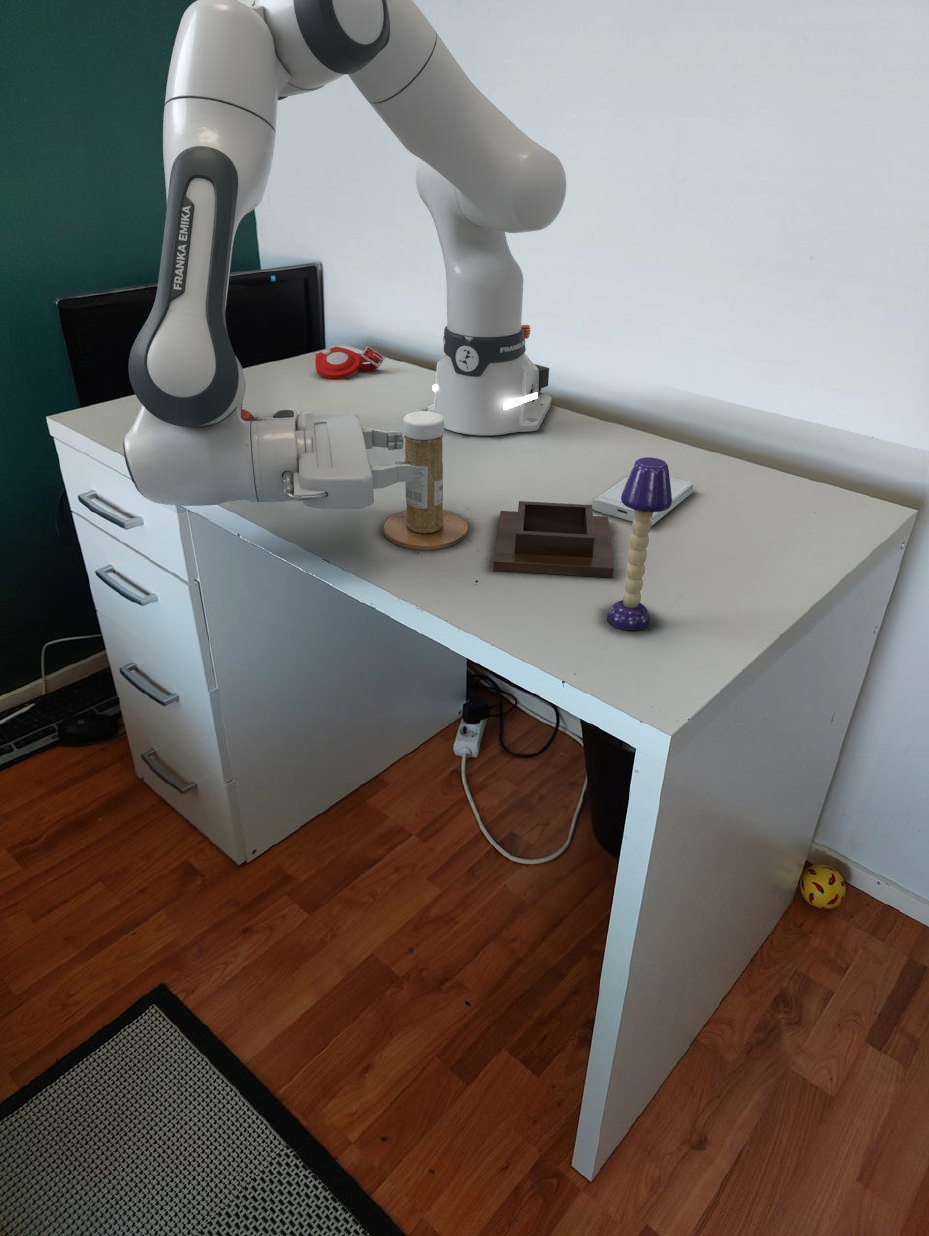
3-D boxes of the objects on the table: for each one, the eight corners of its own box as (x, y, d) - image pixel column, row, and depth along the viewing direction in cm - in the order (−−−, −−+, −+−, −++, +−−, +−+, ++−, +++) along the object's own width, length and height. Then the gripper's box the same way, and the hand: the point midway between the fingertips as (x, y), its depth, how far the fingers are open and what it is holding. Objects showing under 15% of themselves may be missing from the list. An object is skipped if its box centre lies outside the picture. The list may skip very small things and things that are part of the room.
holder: (500, 519, 105) (501, 492, 104) (606, 525, 105) (610, 498, 103) (493, 570, 95) (494, 541, 93) (612, 577, 94) (616, 548, 92)
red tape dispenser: (328, 376, 150) (301, 350, 155) (332, 397, 153) (306, 371, 158) (388, 351, 154) (360, 326, 159) (390, 372, 157) (363, 347, 162)
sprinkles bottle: (451, 529, 102) (452, 418, 94) (417, 538, 99) (416, 426, 92) (430, 514, 105) (430, 407, 98) (398, 523, 103) (395, 413, 95)
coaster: (409, 506, 108) (408, 502, 108) (481, 522, 105) (481, 518, 104) (368, 538, 100) (367, 534, 100) (444, 557, 97) (444, 552, 97)
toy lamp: (602, 606, 89) (620, 452, 80) (646, 605, 89) (670, 452, 80) (611, 631, 84) (632, 472, 76) (658, 631, 85) (684, 472, 76)
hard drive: (637, 468, 116) (593, 497, 107) (694, 482, 112) (653, 515, 103) (635, 479, 117) (591, 510, 108) (692, 494, 113) (651, 527, 104)
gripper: (279, 470, 84) (419, 463, 87) (280, 403, 101) (397, 399, 104) (285, 528, 88) (420, 519, 90) (285, 454, 105) (398, 449, 107)
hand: (407, 454), depth 97 cm, fingers open, 8 cm apart
